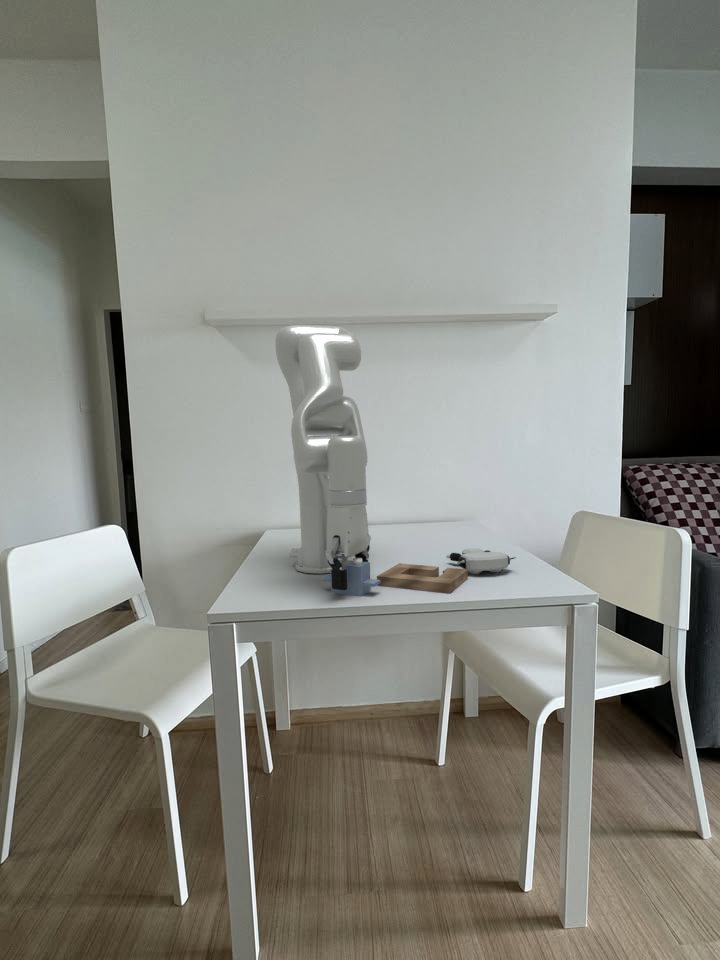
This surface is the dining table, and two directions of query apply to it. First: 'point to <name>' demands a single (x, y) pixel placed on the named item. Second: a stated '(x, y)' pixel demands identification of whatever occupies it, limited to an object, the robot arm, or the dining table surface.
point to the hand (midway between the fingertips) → (350, 583)
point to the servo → (355, 578)
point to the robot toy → (481, 560)
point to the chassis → (423, 578)
